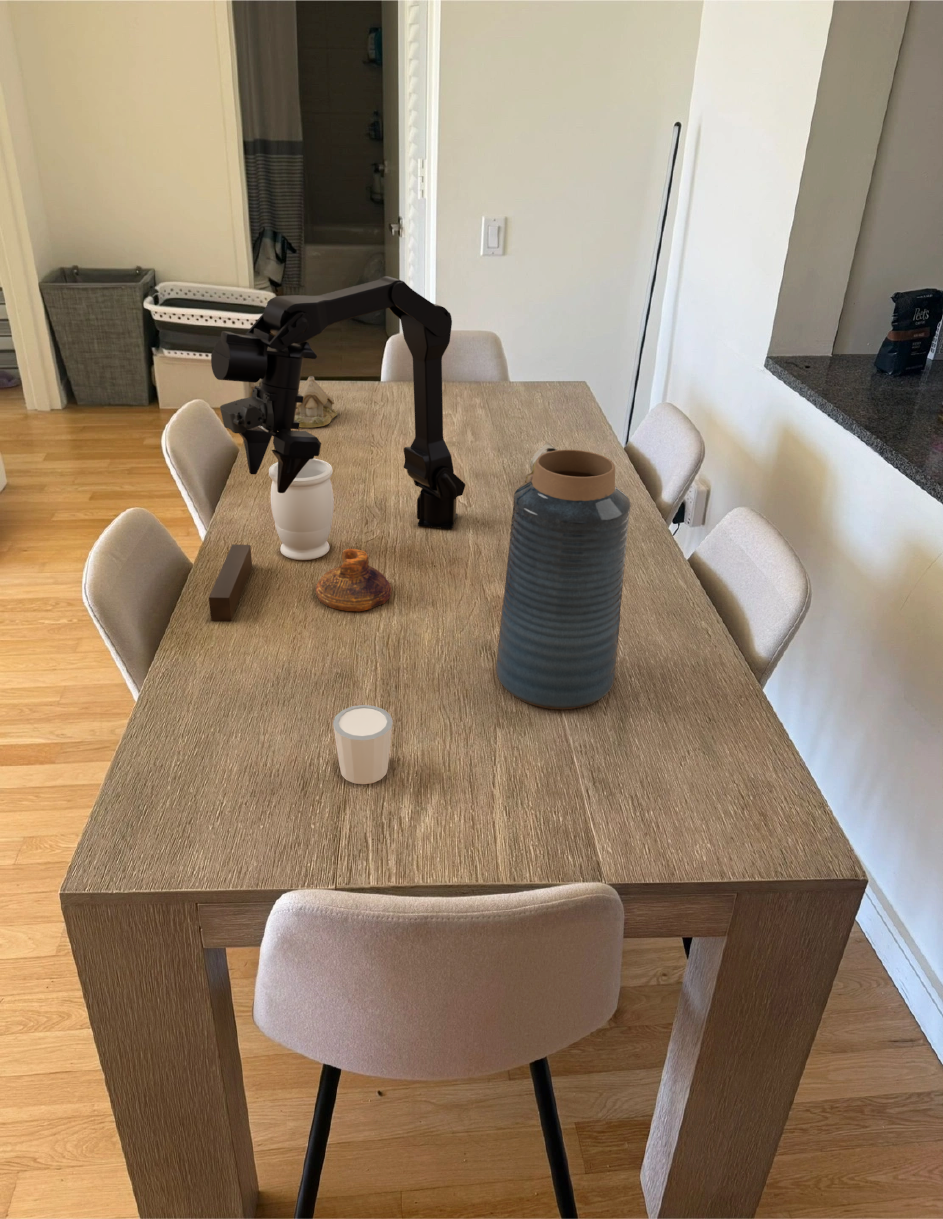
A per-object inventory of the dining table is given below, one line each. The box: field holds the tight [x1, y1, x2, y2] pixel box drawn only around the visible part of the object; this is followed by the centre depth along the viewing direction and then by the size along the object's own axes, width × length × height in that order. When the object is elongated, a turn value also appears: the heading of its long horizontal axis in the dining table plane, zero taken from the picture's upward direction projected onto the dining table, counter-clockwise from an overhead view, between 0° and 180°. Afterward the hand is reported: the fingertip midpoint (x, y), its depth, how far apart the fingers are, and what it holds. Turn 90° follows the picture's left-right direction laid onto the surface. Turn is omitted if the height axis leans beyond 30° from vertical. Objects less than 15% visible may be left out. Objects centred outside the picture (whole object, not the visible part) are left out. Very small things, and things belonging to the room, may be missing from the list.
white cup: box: [332, 704, 394, 785], centre depth 111 cm, size 7×7×7 cm
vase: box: [495, 449, 632, 710], centre depth 123 cm, size 16×16×32 cm
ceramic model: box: [295, 375, 338, 428], centre depth 221 cm, size 14×11×10 cm
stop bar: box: [208, 544, 253, 622], centre depth 148 cm, size 3×18×4 cm, turn 2°
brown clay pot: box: [315, 548, 393, 612], centre depth 148 cm, size 12×12×7 cm
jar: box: [268, 457, 335, 561], centre depth 159 cm, size 11×10×15 cm
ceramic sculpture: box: [524, 441, 558, 483], centre depth 189 cm, size 11×9×15 cm
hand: (266, 483), depth 149 cm, fingers open, 9 cm apart
